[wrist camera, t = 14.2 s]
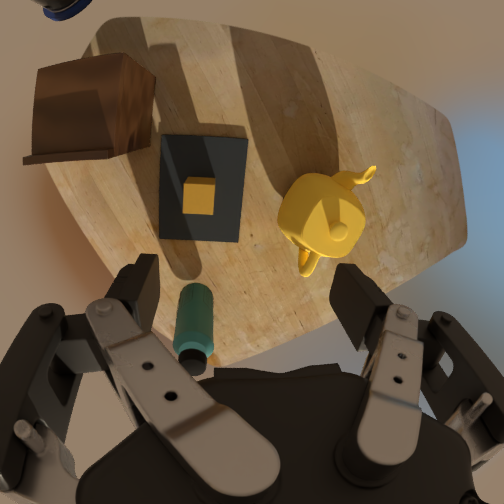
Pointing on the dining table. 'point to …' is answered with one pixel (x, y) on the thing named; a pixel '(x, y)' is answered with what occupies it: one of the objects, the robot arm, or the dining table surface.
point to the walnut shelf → (91, 109)
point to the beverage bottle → (194, 328)
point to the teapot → (323, 215)
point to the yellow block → (198, 195)
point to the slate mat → (201, 165)
